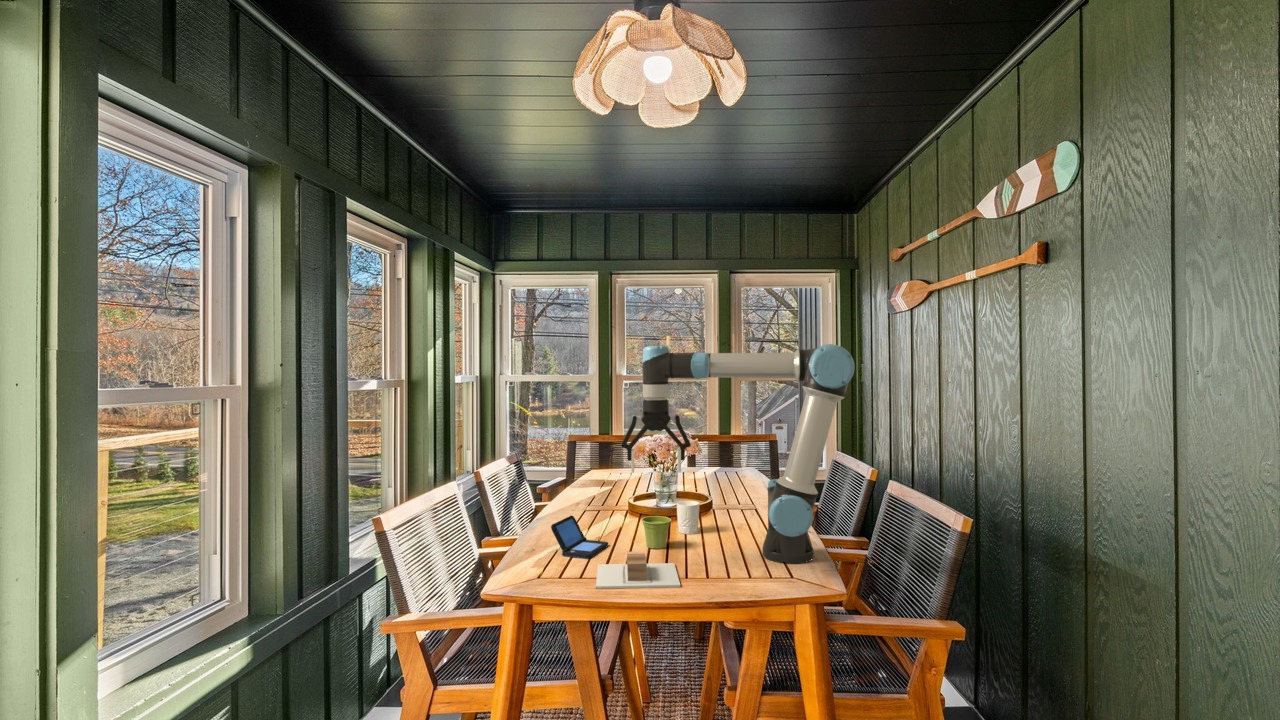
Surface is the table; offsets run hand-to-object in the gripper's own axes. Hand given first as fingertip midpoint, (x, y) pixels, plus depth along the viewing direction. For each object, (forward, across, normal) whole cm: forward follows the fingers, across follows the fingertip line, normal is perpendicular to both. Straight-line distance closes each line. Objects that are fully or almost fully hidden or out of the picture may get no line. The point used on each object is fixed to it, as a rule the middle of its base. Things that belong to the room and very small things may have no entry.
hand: (656, 471), depth 186 cm
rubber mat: (+27, +6, +11) cm, 29 cm away
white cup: (+27, -13, -34) cm, 45 cm away
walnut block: (+26, +6, +11) cm, 29 cm away
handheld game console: (+27, +23, -15) cm, 38 cm away
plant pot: (+27, -1, -17) cm, 32 cm away
